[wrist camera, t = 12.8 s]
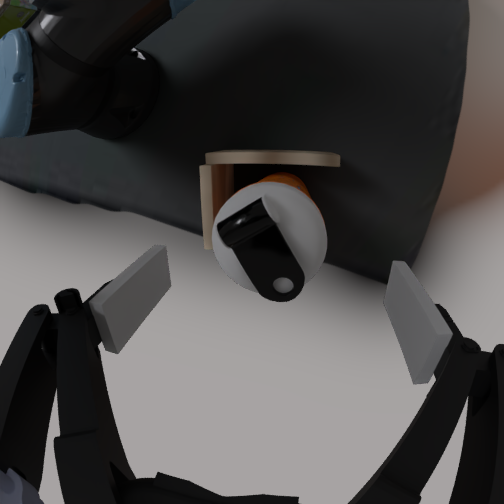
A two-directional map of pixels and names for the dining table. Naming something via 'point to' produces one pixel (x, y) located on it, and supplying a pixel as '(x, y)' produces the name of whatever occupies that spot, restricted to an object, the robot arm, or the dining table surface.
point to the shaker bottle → (271, 237)
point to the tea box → (16, 15)
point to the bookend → (222, 176)
